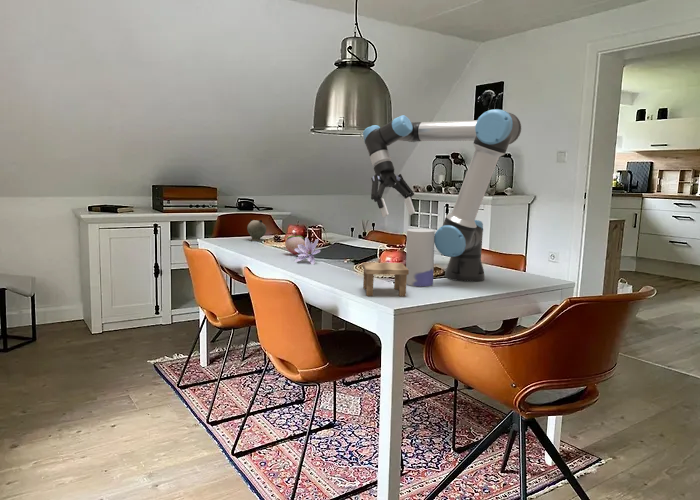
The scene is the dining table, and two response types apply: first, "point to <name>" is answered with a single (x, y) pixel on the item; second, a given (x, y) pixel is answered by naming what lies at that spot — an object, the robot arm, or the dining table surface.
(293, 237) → the decorative fruit
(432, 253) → the container
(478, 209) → the robot arm
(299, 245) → the water lily
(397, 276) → the stool
